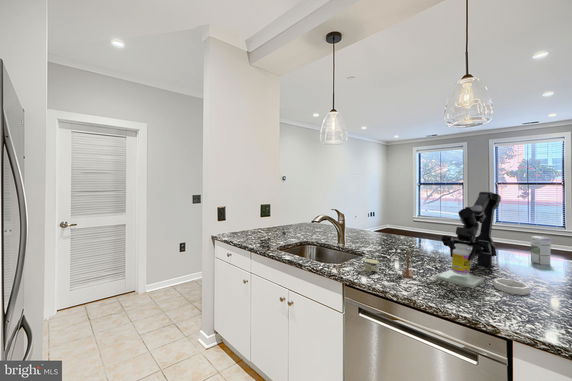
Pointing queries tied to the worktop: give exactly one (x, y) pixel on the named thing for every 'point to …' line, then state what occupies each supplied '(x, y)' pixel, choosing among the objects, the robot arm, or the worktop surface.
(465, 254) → the supplement bottle
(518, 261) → the worktop surface
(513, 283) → the white flat octagonal ring
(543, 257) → the syrup box
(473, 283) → the sage board
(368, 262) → the stacked layers on plate
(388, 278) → the worktop surface
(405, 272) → the gingerbread man figurine
